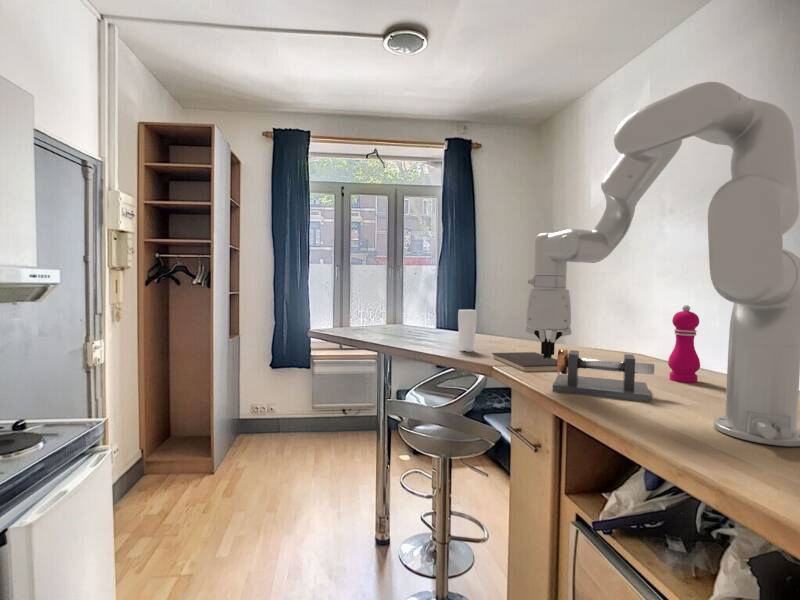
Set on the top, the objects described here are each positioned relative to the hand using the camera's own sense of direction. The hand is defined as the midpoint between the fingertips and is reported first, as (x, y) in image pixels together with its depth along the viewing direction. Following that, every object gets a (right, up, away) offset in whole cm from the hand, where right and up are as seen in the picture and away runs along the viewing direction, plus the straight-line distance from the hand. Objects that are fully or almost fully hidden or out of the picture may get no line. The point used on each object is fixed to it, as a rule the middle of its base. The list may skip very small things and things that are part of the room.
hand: (547, 357), depth 112 cm
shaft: (+12, -4, -5) cm, 13 cm away
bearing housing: (+11, -7, -5) cm, 14 cm away
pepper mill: (+39, -7, +8) cm, 40 cm away
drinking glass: (-12, -5, +53) cm, 55 cm away
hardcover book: (+4, -6, +29) cm, 30 cm away
